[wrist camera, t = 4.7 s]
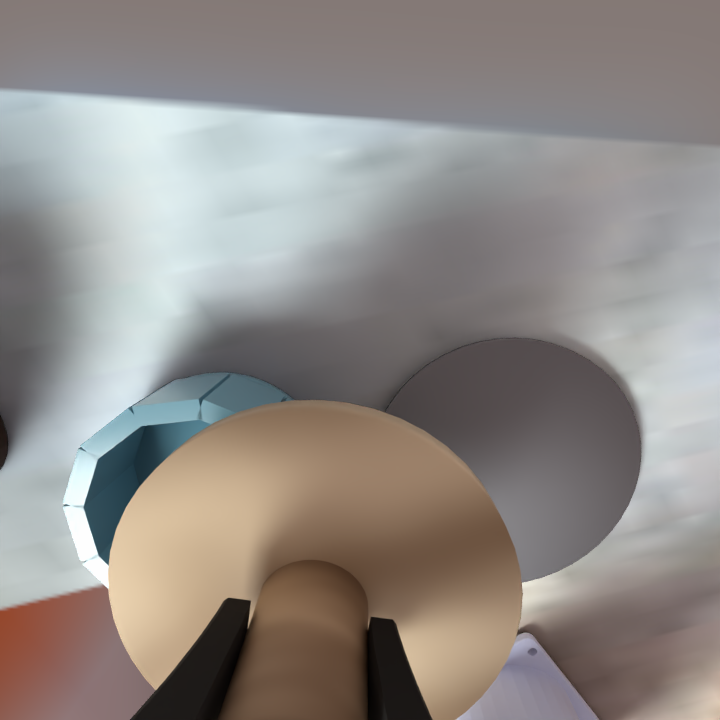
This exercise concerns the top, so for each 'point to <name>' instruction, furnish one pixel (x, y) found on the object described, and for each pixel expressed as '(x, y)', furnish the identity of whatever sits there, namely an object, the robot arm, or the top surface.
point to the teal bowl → (146, 452)
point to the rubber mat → (533, 441)
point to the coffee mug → (3, 443)
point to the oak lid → (318, 560)
